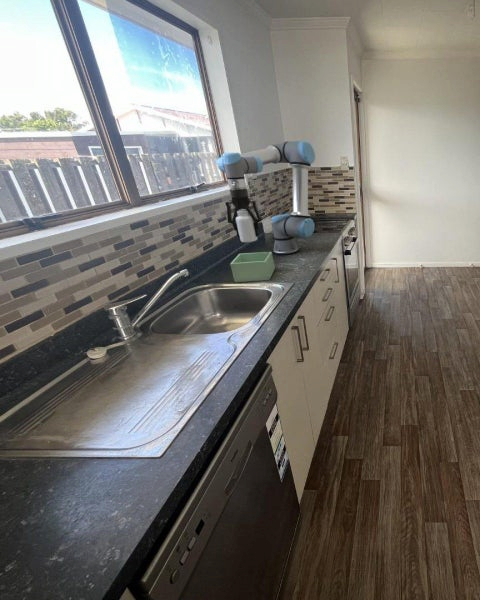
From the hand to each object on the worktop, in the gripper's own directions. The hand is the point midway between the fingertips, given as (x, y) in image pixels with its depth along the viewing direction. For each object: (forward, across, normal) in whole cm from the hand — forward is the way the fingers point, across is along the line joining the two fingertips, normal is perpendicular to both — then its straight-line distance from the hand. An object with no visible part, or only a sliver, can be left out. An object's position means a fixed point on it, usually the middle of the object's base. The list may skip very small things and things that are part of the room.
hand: (248, 236), depth 164 cm
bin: (+21, 0, 0) cm, 21 cm away
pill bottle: (+2, 0, 0) cm, 2 cm away
